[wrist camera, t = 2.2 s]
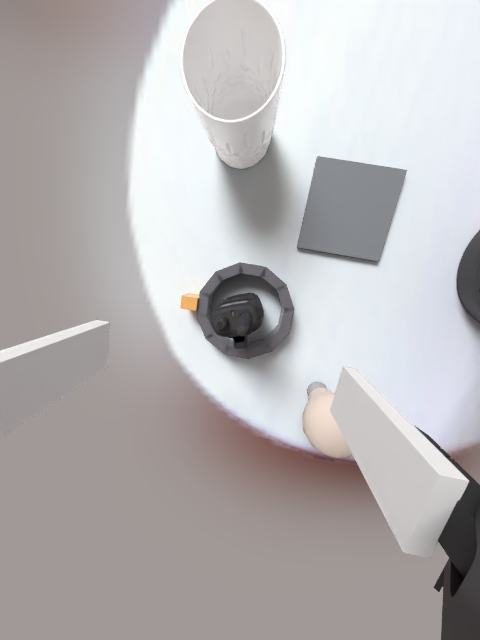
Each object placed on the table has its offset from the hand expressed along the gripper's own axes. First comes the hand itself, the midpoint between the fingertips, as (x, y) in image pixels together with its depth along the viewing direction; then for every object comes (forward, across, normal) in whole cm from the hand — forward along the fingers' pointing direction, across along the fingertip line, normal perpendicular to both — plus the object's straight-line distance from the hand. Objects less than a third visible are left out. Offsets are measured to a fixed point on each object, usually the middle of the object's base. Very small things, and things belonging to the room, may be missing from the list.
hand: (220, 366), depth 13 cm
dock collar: (+19, +1, 0) cm, 19 cm away
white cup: (+19, +4, -20) cm, 28 cm away
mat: (+19, -10, -14) cm, 26 cm away
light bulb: (+19, -12, +10) cm, 25 cm away
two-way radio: (+19, 0, 0) cm, 19 cm away
